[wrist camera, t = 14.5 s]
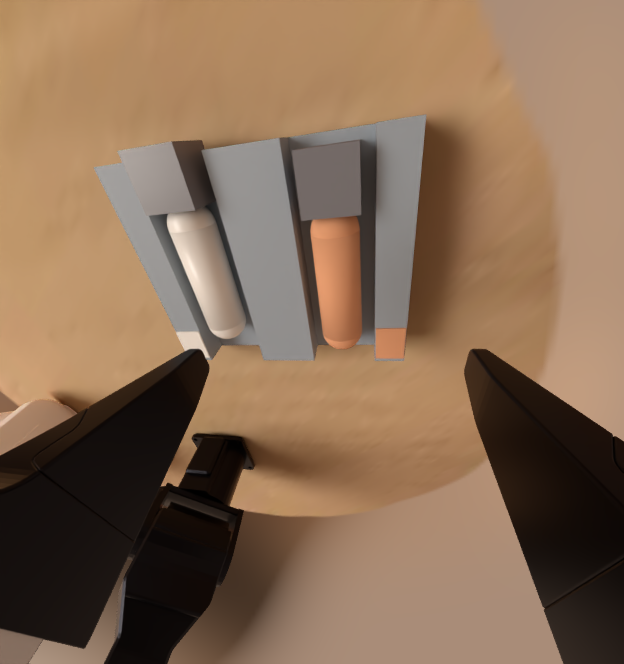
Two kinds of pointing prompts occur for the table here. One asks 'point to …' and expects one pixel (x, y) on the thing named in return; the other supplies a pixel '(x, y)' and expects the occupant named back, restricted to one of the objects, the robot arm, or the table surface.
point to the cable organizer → (30, 421)
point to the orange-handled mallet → (334, 233)
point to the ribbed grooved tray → (289, 241)
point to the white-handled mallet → (189, 224)
